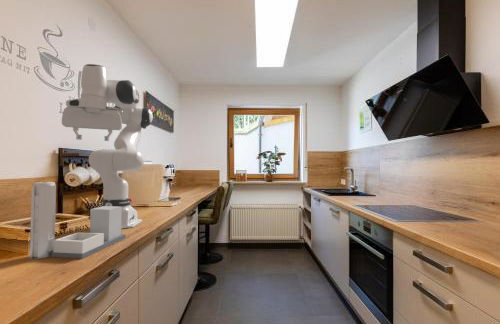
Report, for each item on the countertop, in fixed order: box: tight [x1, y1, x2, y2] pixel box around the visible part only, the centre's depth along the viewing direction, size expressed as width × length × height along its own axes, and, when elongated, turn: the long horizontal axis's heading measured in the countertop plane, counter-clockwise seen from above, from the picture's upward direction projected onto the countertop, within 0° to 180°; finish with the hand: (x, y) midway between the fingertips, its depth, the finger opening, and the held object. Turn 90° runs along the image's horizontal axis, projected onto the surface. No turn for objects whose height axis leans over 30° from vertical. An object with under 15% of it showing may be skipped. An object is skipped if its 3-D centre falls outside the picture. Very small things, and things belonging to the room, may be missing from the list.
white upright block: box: [29, 181, 57, 260], centre depth 86 cm, size 6×6×25 cm
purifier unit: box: [51, 205, 127, 260], centre depth 97 cm, size 24×11×14 cm, turn 174°
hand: (93, 140), depth 100 cm, fingers open, 8 cm apart
